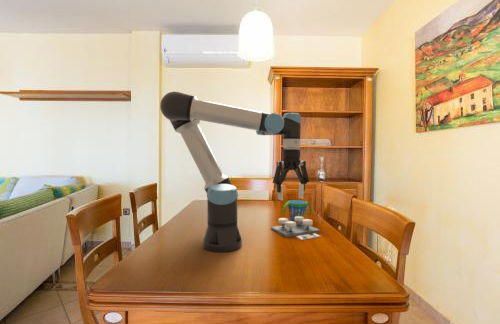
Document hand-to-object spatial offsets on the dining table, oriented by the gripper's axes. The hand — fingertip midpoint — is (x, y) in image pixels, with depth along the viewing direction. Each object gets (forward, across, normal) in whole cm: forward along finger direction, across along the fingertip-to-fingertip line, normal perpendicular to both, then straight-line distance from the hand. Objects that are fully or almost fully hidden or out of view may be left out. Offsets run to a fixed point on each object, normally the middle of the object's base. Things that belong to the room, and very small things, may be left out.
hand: (291, 199), depth 124 cm
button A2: (+14, 0, +6) cm, 15 cm away
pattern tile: (+16, +4, -7) cm, 18 cm away
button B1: (+14, +9, 0) cm, 17 cm away
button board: (+16, +4, +3) cm, 17 cm away
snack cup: (+16, +16, +18) cm, 28 cm away
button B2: (+14, +9, +6) cm, 18 cm away
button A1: (+14, 0, 0) cm, 14 cm away
